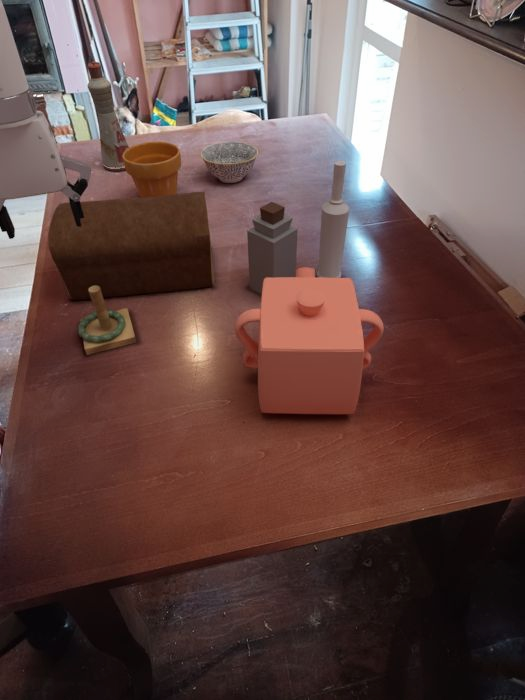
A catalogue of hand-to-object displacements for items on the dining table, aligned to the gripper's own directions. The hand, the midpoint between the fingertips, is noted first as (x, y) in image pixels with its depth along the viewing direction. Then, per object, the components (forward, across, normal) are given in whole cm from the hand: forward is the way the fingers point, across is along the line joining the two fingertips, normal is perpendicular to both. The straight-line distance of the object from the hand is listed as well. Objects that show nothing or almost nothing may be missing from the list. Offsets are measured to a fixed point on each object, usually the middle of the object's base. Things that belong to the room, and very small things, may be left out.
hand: (46, 228), depth 73 cm
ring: (+21, -3, -1) cm, 21 cm away
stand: (+23, -4, -1) cm, 24 cm away
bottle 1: (+22, -17, -77) cm, 82 cm away
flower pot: (+22, -24, -50) cm, 60 cm away
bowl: (+22, -46, -56) cm, 76 cm away
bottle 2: (+23, -50, -1) cm, 55 cm away
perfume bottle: (+23, -38, -3) cm, 45 cm away
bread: (+23, -14, -18) cm, 32 cm away
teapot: (+23, -35, +20) cm, 47 cm away
